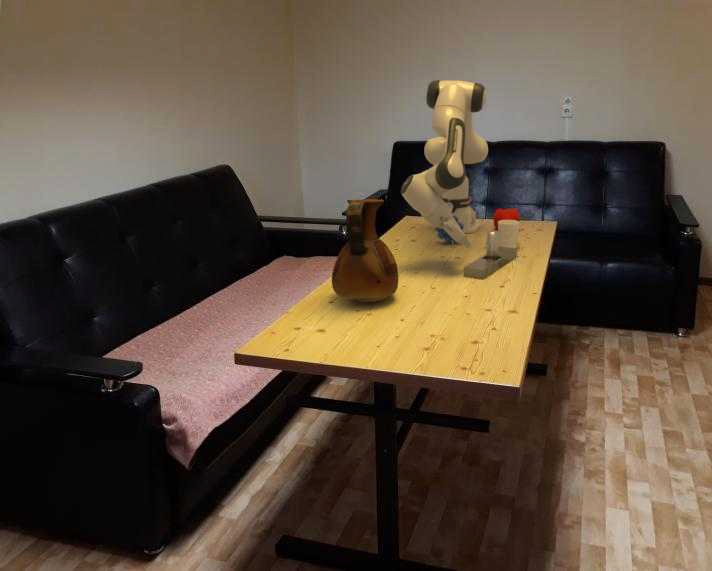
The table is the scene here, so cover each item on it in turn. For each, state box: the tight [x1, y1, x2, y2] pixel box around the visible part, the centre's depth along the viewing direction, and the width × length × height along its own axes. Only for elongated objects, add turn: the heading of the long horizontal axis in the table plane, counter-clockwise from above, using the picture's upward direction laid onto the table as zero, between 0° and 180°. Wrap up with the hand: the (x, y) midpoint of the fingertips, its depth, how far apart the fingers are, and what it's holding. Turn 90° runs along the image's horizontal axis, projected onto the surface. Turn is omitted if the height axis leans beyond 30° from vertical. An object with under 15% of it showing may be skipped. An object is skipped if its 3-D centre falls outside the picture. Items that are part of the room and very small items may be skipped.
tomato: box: [492, 208, 521, 230], centre depth 288 cm, size 11×12×9 cm
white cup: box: [497, 220, 520, 249], centre depth 259 cm, size 8×8×10 cm
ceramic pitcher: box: [331, 198, 399, 303], centre depth 201 cm, size 20×20×30 cm
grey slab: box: [463, 247, 518, 280], centre depth 236 cm, size 32×7×3 cm, turn 148°
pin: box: [485, 230, 499, 260], centre depth 234 cm, size 4×4×12 cm
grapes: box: [434, 215, 465, 245], centre depth 265 cm, size 12×7×12 cm, turn 79°
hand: (467, 243), depth 234 cm, fingers open, 8 cm apart
